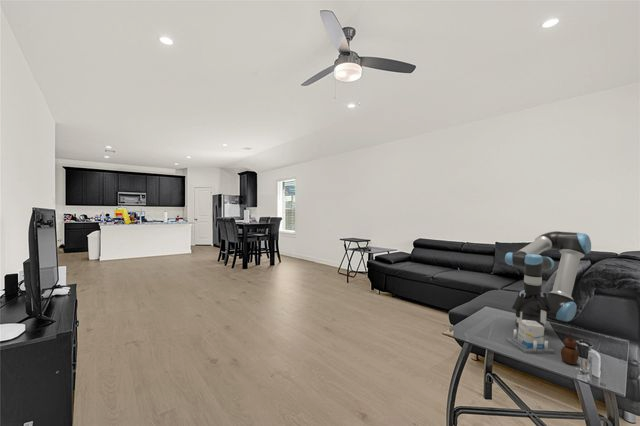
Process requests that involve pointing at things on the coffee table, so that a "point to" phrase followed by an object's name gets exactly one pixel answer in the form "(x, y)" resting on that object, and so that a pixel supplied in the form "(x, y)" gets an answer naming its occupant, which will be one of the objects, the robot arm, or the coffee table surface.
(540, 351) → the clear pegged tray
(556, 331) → the coffee table surface
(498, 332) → the coffee table surface
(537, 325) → the ink box
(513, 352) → the coffee table surface
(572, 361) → the wooden figurine
